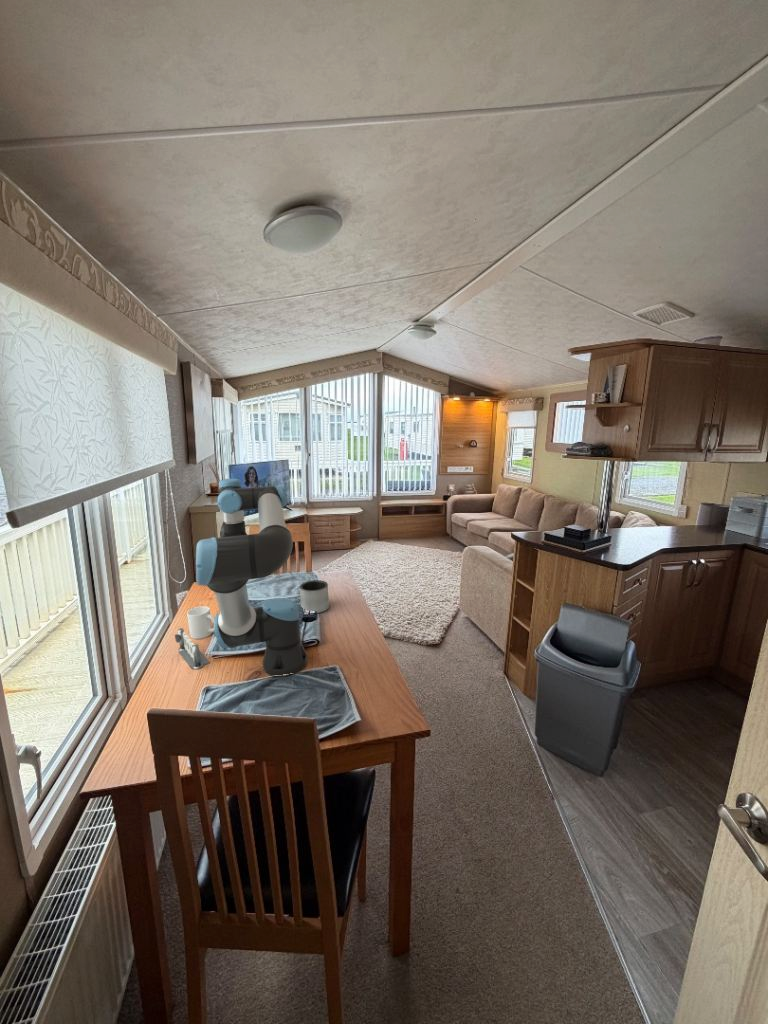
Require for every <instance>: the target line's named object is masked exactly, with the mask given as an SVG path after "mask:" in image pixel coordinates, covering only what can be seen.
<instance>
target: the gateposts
mask: <svg viewBox="0 0 768 1024" xmlns="http://www.w3.org/2000/svg"><path fill="white" fill-rule="evenodd" d="M184 632H185V629H184V628H182V627H181V628H179V629H177V634H174V638H175V642H176V643H179V648H178V652H180V651H183V650H185V647H184V638H183V633H184ZM192 649H193V656H194V663H195V665H194V666H193V668H194V669H193V670H200V669H202V668H203V667H204V665H203V664H202V663H201V660H200V653H199V650H200V647H199V644H195V645H193V646H192Z"/></svg>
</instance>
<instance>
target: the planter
mask: <svg viewBox="0 0 768 1024" xmlns="http://www.w3.org/2000/svg"><path fill="white" fill-rule="evenodd" d="M299 595H300V608H301V607H302V608H303V609H305V610H312V611H317V613H316V614H320V613H321V614H322V613H324V612H326V611H327V610H328V609H329V607H330V596H329V583H327V581H324V580H319V579H314V580H308V581H305V582H303V583H301V584H300V585H299Z"/></svg>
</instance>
